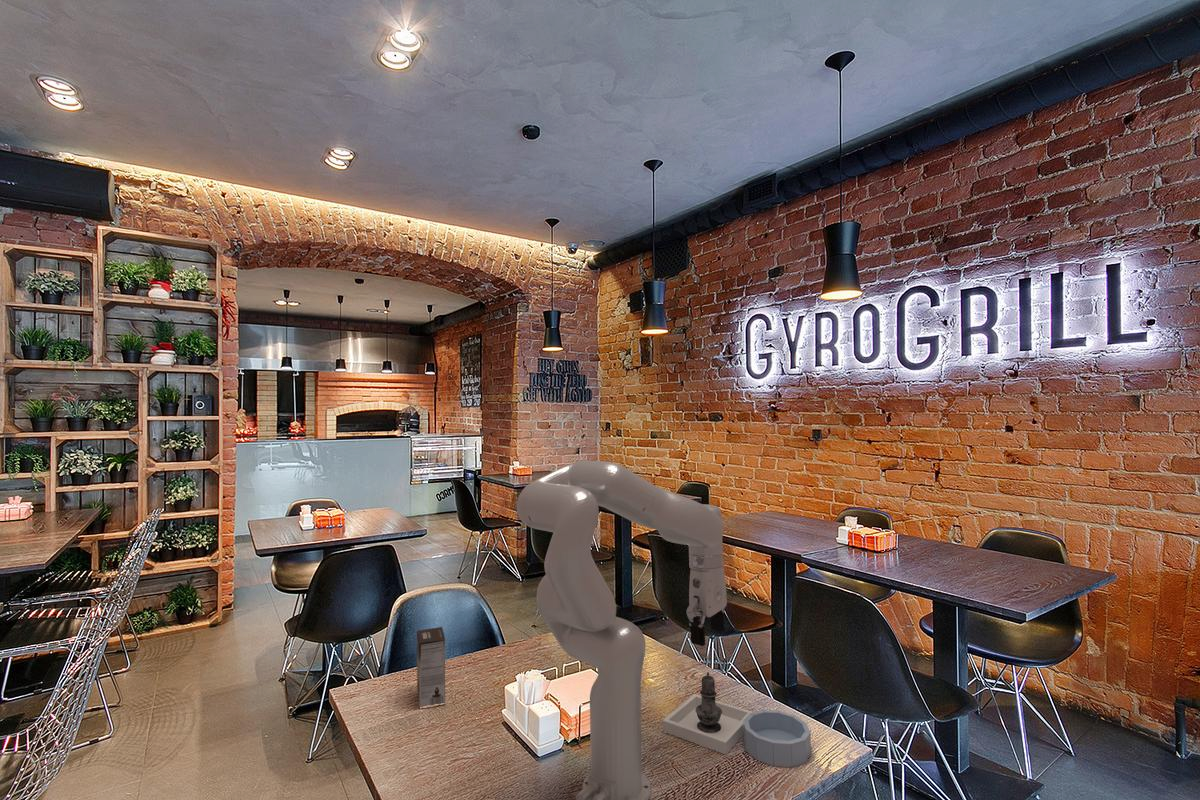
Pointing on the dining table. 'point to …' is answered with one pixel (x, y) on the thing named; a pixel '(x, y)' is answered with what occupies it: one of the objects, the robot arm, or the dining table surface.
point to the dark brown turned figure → (708, 707)
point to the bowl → (777, 738)
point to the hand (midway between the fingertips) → (708, 637)
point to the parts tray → (685, 727)
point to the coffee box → (431, 666)
